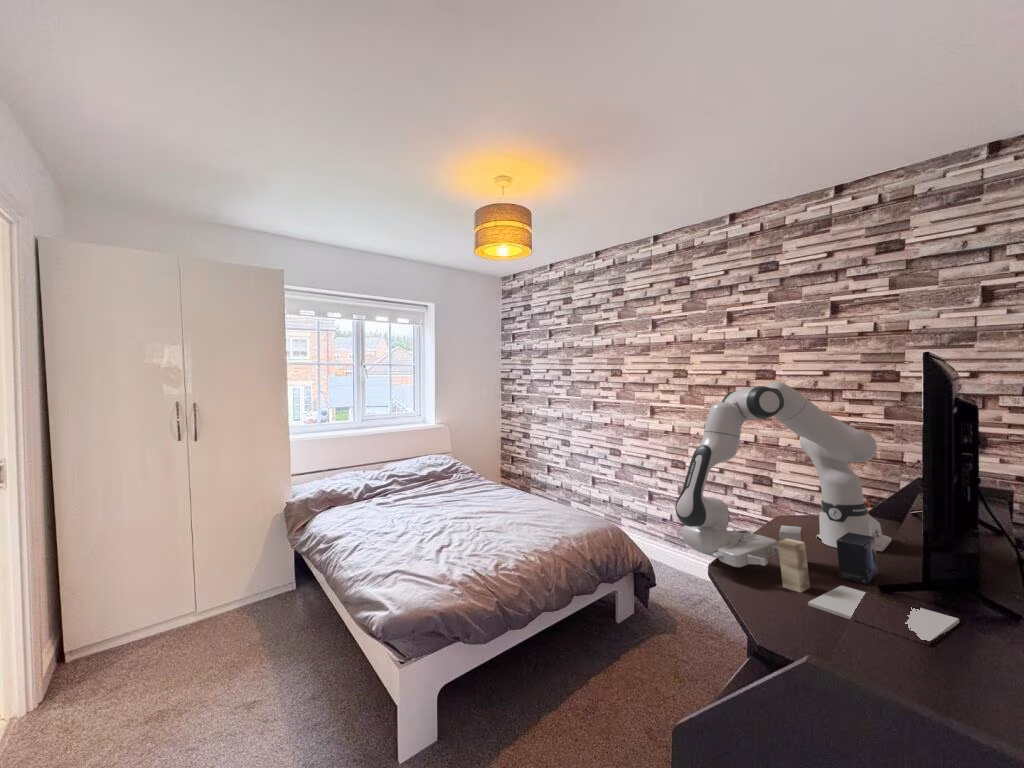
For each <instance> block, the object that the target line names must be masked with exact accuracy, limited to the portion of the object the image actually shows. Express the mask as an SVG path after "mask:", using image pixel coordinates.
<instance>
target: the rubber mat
mask: <svg viewBox="0 0 1024 768" xmlns="http://www.w3.org/2000/svg"><path fill="white" fill-rule="evenodd" d="M865 593H866V591H863V590H859V589H856V588H852V587H849V586H845V585H839V586H837V587H835V588H833V589H831V590H829V591H827V592H825V593H823V594H821V595H819V596H817V597H815V598H814V599H811V600H809V601H807V605H808V607H812V608H815V609H818V610H821V611H824V612H826V613H830V614H833V615H836V616H839V617H842V618H844V619H847V620H850V619H851V617H852V615H853V613H854V611H855V609H856V608H857V606H858V604H859V603H860V601H861V599H862V598H863V596H864V595H865ZM911 610H912V611H910V615H907V616H908V617H909V619H908V620H907V622H905V624H908V628H909V630H911V631H914V632H915V633H917V634H916V635H917V636H918V637H919V638H920V639H921V640H927V641H931V640H933V639H935V638H937V637H938V636H939V635H941V634H943V633H945V632H947V631H948V632H950V631H951V630H952V629H953V628H954V627H956V626H957V625H958V624H959V623H960V618H958V617H954V616H950V615H947V614H945V613H944V614H943V613H940V612H938V611H937V612H936V611H933V610H929V609H926V608H923V607H920V610H919V609H915V608H913V609H912V607H911ZM916 610H917V611H916ZM910 628H911V629H910ZM950 629H951V630H950ZM948 632H947V633H948ZM945 634H946V633H945Z"/></svg>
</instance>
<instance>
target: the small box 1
mask: <svg viewBox="0 0 1024 768" xmlns="http://www.w3.org/2000/svg"><path fill="white" fill-rule="evenodd" d="M778 535H779V541H781V540H784V539H787V538H788V539H792V540H797V541H801V542H804V533H803V528H802V526H793V525H792V526H790V525H780V529H779V531H778Z"/></svg>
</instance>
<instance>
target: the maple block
mask: <svg viewBox="0 0 1024 768" xmlns="http://www.w3.org/2000/svg"><path fill="white" fill-rule="evenodd" d="M777 541H778V549H779V555H778V557H779V564H780V566H779V567H780V572H781V581H782V582H781V583H782V588H786V589H788V590H790V591H795V592H798V593H803V592H805V591H807V590H809V589H811V585H810V584H811V583H810V577H809V567H808V566H809V565H808V560H807V559H808V558H807V552H806V549H807V548H806V543H805V542H804V541H803V542H801V541H797V540H792V539H788V538H787V539H784V540H781V541H780V540H777Z"/></svg>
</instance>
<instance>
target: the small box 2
mask: <svg viewBox="0 0 1024 768" xmlns="http://www.w3.org/2000/svg"><path fill="white" fill-rule="evenodd" d="M836 542H837V548H836V550H837V551H836V552H837V558H838V559H837V560H838V570H839V571H838V572H839V578H840V579H843V580H847V581H851V582H852V581H853V582H856V583H860V584H865V585H868V584H869V583H870V582H871V581H872V580H873V579H874V578H876V576H877V575H878V574H879V569H878V568H879V567H878V561H877V553H876V552H877V551H876V550H875V541H874V537H872V536H866V535H861V534H855V533H850V532H848V533H847V534H845V535H844V536H842V537H841V538H839V539H838V540H836Z"/></svg>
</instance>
